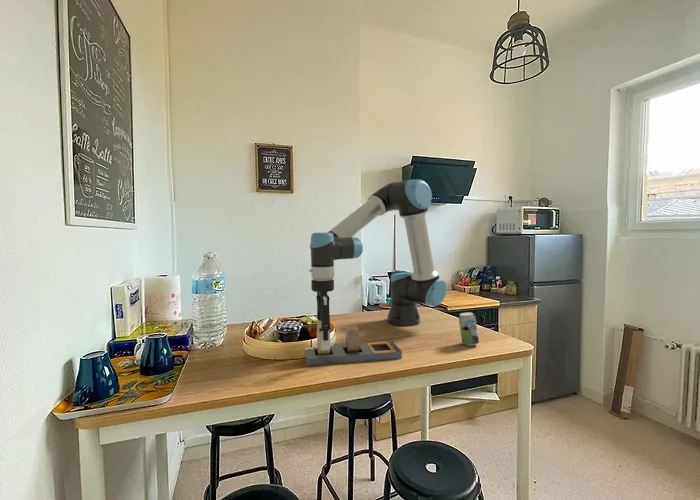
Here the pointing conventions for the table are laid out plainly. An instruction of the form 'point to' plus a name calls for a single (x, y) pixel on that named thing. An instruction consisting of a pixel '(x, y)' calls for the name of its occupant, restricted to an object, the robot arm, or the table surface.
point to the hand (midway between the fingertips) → (323, 344)
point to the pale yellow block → (319, 351)
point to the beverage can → (468, 329)
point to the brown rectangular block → (352, 340)
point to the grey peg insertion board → (354, 354)
